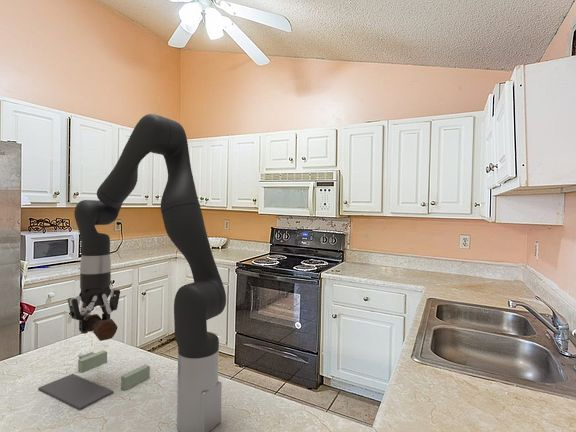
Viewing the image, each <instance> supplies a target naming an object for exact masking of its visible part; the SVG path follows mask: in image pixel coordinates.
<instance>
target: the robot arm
mask: <svg viewBox="0 0 576 432" xmlns="http://www.w3.org/2000/svg"><path fill="white" fill-rule="evenodd" d="M150 153H151V154H152V153H153V154H155V155H160V156H163V158H164V162H165V165H166V170H167V181H166V185H165V187H164V190H163V193H162V196H161V200H160V212H161V213H160V214H161V217H162V221H163V225H164V229H165V232H166V234H167V236H168V238H169V239H170V241H171V242H172V243H173V245H175V247H176V248H177V249H178V251H179V252H180V253H181V254H182V256H183V257H184V258H185V260H186V262H187V263H188V265H189V268H190V271H191V274H192V278H193V282H191V283H190V282H189V283H187V284H184V285H182V286H181V287H179V288H178V290H177V291H176V292H175V296H174V301H173V321H174V322H173V325H174V339H175V342H176V344H177V383H176V384H177V387H176V389H177V390H176V397H177V398H176V428H177V431H178V432H211V431H212V430H213V429H214V428H215V427H216V426H217V425H218V424H220V423H221V422H222V388H223V385H222V381H219V362H220V361H219V359H220V358H219V356H220V353H219V352H220V350H219V349H220V340H219V337H218V335H217V334H215V333H213V332H211V331H208V327H207V326H208V324H207V322H208V320H211V319H212V318H215V317H217V316H219V315H220V314H222V313H223V312H224V310H225V308H226V305H227V294H226V289H225V285H224V283H223V280H222V278H221V275H220V272H219V269H218V267H217V264H216V261H215V258H214V256H213V252H212V248H211V244H210V240H209V237H208V232H207V230H206V225H205V221H204V216H203V212H202V207H201V204H200V201H199V197H198V195H197V194H198V193H197V189H196V186H195V185H196V184H195V181H194V180H195V179H194V176H193V171H192V164H191V159H190V158H191V157H190V151H189V144H188V138H187V134H186V130H185V129H184V127H183V125H182V124H181V123H179V122H177V121H176V120H173V119H170V118H168V117H165V116H162V115H158V114H154V113H147V114H145V115H144V116H142V117H141V118H140V119H139V121H138V122H137V123H136V125H135V126H134V128H133V130H132V132H131V133H130V136H129V137H128V139H127V142H126V144H125V146H124V148H123V149H122V152H121V154H120V156H119V158H118V160H117V162H116V164H115V166H114V167H113V169H112V170H111V171H110V173H108V175H107V176H106V178H105V179H103V180H104V181H103V182H102V183H101V184H100V185H99V187H98V189H97V191H96V197H97V199H98V200H95V199H83V200H80V201H78V203H77V204H76V206H75V207H74V212H73V213H74V215H73V216H74V220H75V222H76V223H75V224H76V226H77V229H78V233H79V237H80V240H81V241H80V242H81V256H80V257H81V258H80V264H79V265H80V266H79V267H80V269H79V272H80V274H79V288H80V292H79V294H78V296H75V297H69V298H67V302H68V308H69V312H70V317H71V319H72V320H77V321H78V330H79V332H80V333H81V334H82V335H85V334H88V333H89V332H88V320H87V318H88V316H89V315H90V313H92V311H93V309H94V308H96V307H99V308H100V309H101V311H102V313H101V319H102V320H107V319H111V314H112V312H114V311H117V310H118V305H119V301H120V300H119V299H120V295H121V290H119V289H116V288H113V289H111V281H112V280H111V279H112V278H111V276H112V275H111V273H112V272H111V271H112V269H111V267H112V260H111V239H110V236H109V234H107V233H101V232H98V230H97V228H96V226H107V225H111V224H112V223H113V222H115V221H116V220H117V219H118V216H119V213H120V211H121V208H122V206H123V204H124V201H125V200H126V199H127V198H128V197H129V195H130V194H131V193H132V192H133V191H134V189H135V188H136V186H137V184H138V176H139V173H138V172H139V165H140V164H141V161H142V160H143V159H144V158H145V157H146V156H147V155H149V154H150ZM109 297H110V298H109ZM108 299H109V300H108ZM80 302H81V303H80ZM80 304H81V306H79V305H80Z"/></svg>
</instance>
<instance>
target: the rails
mask: <svg viewBox="0 0 576 432" xmlns="http://www.w3.org/2000/svg"><path fill="white" fill-rule="evenodd" d="M77 357H78V359H77V360H78V361H77V362H78V364H77V365H78V366H77V371H78V372H80V373H85V372H87V371H89V370H92V369H94V368H97V367H100V366H102V365H104V364H106V363H108V351H106V350H104V349H103V350H100V351H97V352H93V351H91V352H88V353H86V354H83V353H79V354H78V355H77ZM150 375H151V366H150V365H148V364H143V365H141V366H139V367H137V368H135V369H133V370H130V371H129V372H127V373H124V374H122V375H120V389H121V390H123V391H127V390H129V389H131V388H133V387H135V386H137V385H138V384H140V383H142V382H144V381H147V380H149V379H150V377H151V376H150Z"/></svg>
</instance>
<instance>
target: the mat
mask: <svg viewBox="0 0 576 432" xmlns="http://www.w3.org/2000/svg"><path fill="white" fill-rule="evenodd" d="M37 389H38V391H39V392H42V393H44V394H46V395H48V396H50V397H52V398H54V399H56V400H58V401H60V402H62V403H64V404H65V405H68V406H70V407H72V408H73V409H76V410H78V411H81V410H83V409H85V408H87V407H89V406H91V405H93V404H95V403H97V402H99V401H101V400H103V399H105V398H107V397H108V396H110V395H113V394H114V393H115V391H114V390H112V389H110V388H108V387H105V386H103V385H101V384H98V383H96V382H94V381H90V380H89V379H86V378H85V377H84V378H83V377H81V376H79V375H77V374H74V373H70V374H68V375H66V376H64V377H60V378H59V379H56V380H53V381H51V382H48V383H47V384H44V385H41V386H39V387H38V388H37Z"/></svg>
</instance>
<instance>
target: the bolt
mask: <svg viewBox="0 0 576 432" xmlns="http://www.w3.org/2000/svg"><path fill="white" fill-rule="evenodd" d="M87 320H88V333H89V332H93V334H94V335H95V337H96V338H97V339H98V341H100V342H102V341H107V340H110V339H112V338H114V337H115V335H116V333H117V330H118V325H117V324H116V323H115V321H114V319H112V318H110V319H107V320H102V317H101V316H100V315H99V314H98V313H93V314H89V316H88V318H87Z"/></svg>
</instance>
